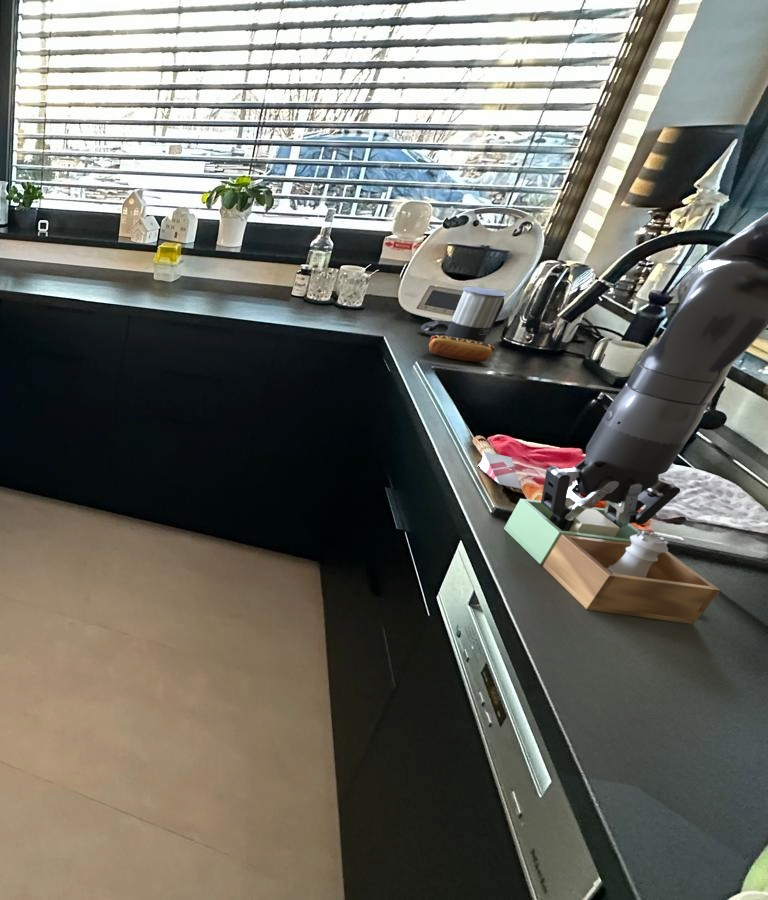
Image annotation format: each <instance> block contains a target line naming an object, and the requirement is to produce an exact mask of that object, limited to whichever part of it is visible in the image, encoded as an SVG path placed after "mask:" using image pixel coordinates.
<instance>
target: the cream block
mask: <svg viewBox="0 0 768 900" xmlns="http://www.w3.org/2000/svg"><path fill="white" fill-rule="evenodd" d="M568 508H569V509H570V508H571V507H570V506H569V507H568ZM573 521H574V523H573V525H572V527H571V528H570V530H569V532H577V533H585V534H593V535H601V536H609V537H615V536H616V534H617V533H618V531H619V530H620V527H618V526H617V525H616V524H614V523H613V522H612V521H610V520H609V519H608V518H606V517H605V516H604V515H602V514H601V513H600V512H598V511H597V510H595V509H585V510H584V511H583V512H582V513H581V514H580V515H579V516H578V517H577V518H575V519H574V520H573Z"/></svg>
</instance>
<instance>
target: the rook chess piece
mask: <svg viewBox="0 0 768 900" xmlns="http://www.w3.org/2000/svg"><path fill="white" fill-rule="evenodd" d="M630 540H631V543H632V545H631V546H629V547H626V553H625V554H624V555H623V556H622V557H621V558H620V559H619V560H618V561H617V562H616V563H615V564H614V565H611V566H609V568H606V569H607V570H608V571H609V572H610V573H613V574H620V575H628V576H635V577H643V578H646V575H647V573H648V570H649V568H650V566H651V565H652V563H653V562H655V561H658V558H657V556H658V555H659V554H661V553H664V552H667V551H668V552H669V548H668V544H669V541H668V539H667V538H666V537H664V536H660V537H659V538H658V533H656V532H653V531H652V532H651V533H650V534H649V531H647V530H639V532H638V534H636V535H633V536H630Z"/></svg>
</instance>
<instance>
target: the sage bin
mask: <svg viewBox="0 0 768 900" xmlns="http://www.w3.org/2000/svg"><path fill="white" fill-rule="evenodd" d="M573 505H574V504H572V505H571V506H570V507H572V506H573ZM591 509H595V510H597V511H598V512H600V513H601V514H602V515H604V510H605V507H604V508H602V507H596V506H594V507H592V508H591ZM552 515H553V513H552V512H551V511H550V510H549V509H548V508H546V507H545V506H544V505H543V504H542V503H541V500H536V499H528V498H519V500H518V502H517V503H516V506H515V507H514V509H513V511H512V513H511V515H510V516H509V518H508V520H507V522H506V524H505V525H504V527H503V529H504V530H505V532H506V533H508V535H510V536H511V538H513V540H515V541H516V543H518V544H519V545H520V546H521V547H522V548H523V549H524V550H525V551H526V552H527V554H529V555H530V556H531V557H532V558H533V559H534V560H535V561H536V562H537V563H538V564H539V565H542V566H543V565H544V563H545V561H546V560H547V558H548V556H549V555H550V553H551V551H552V550H553V548H554V547H555V545H556V543H557V542H558V540H559V538H560V537H561V535H570V536H578V537H586V538H594V539H602V540H609V541H617V542H625V543H631V540H630V536H633V535H636V534H638V532H639V531H640V529H638V528H637V527H635V526H634V525H633V524H632V523H629V524H628V525H626V526H624V527H621V528H620V530H619V531H618V533H617V534H616V536H615V537H609V536H601V535H593V534H585V533H577V532H569V531H561V530H560V529H559V528H558V527H557V526H556V525H554V524H553V523H552V522H551V521H550V518H551V517H552ZM604 516H605V515H604Z"/></svg>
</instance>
